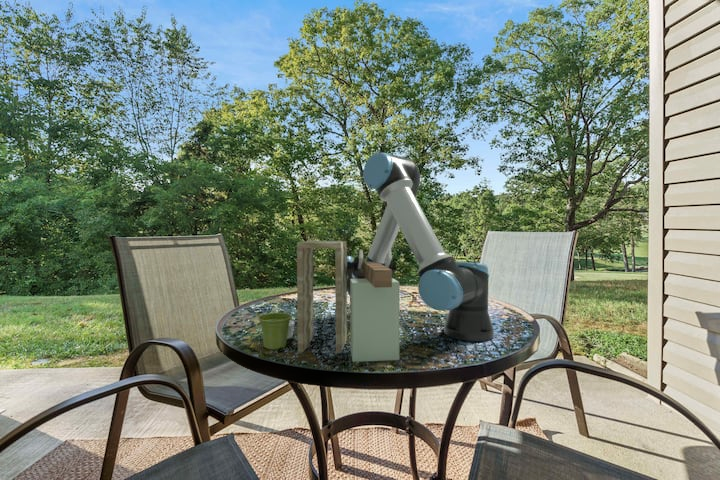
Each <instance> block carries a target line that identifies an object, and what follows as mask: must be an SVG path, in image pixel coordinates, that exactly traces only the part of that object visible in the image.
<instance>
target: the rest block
mask: <svg viewBox="0 0 720 480" xmlns="http://www.w3.org/2000/svg"><path fill="white" fill-rule="evenodd" d="M349 302H350V305H349V309H350V311H349V316H350V317H349V321H350V323H349V327H350V328H349V329H350V330H349V333H350V335H349V336H350V338H349V339H350V341H349V342H350V343H349V344H350V345H349V346H350V347H349V348H350V349H349V350H350V352H349V353H350V356H351V360H352V362H353V363H356V362H361V363H362V362H383V361H385V362H387V361H400V281H398V280H397V279H395V278H393V277H392V287H378V288H375V287H374V286H373V285H372V284H371V283H370V282H369V281H368V280H367V279H350V296H349Z"/></svg>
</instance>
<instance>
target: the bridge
mask: <svg viewBox="0 0 720 480" xmlns="http://www.w3.org/2000/svg"><path fill="white" fill-rule="evenodd" d="M347 243H348V242H347V240H305V241H298V242H296V276H297V277H296V284H297V285H296V286H297V287H296V288H297V294H296V295H297V297H296V299H297V300H296V301H297V304H296V305H297V306H296V307H297V308H296V309H297V313H296V315H297V353H304V352H305V350H306V349H307V347H308V346H309V344H310V343H311V341H312V340H313V338H314V329H315V328H314V249H334V250H335V251H334V253H335V255H334V256H335V257H334V258H335V260H334V261H335V262H334V263H335V265H334V266H335V354H342V353H343V350H344V346H345V344H346V341H347V339H348V292H347V256H348V252H347V251H348V248H347V247H348V245H347Z"/></svg>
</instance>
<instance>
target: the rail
mask: <svg viewBox="0 0 720 480" xmlns="http://www.w3.org/2000/svg"><path fill="white" fill-rule="evenodd" d="M363 261H364V262H363V276H364V277H365V278H366V279H367V280H368V281H369V282H370V283H371V284H372V285H373V286H374V287H375V288H378V287H392V278H393V275H392V270H391V269H389V268H387V267H386V266H384V265H382V264H380V263H378V262H376V261H366V260H363Z"/></svg>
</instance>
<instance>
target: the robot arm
mask: <svg viewBox="0 0 720 480" xmlns="http://www.w3.org/2000/svg"><path fill="white" fill-rule="evenodd" d="M362 174H363V175H362V176H363V177H362V178H363V181H364V184H365V186H367V187H369V188H370V189H373V190H374V189H375V191H376V194H377V195H378V197H379V199H380V200H381V201H382V202H385V203H387V204H386V207H385V210H384V212H383V215H382V217H381V221H380V222H379V224H378V227H377V230H376V233H375V236H374V238H373V240H372V244H371V246H370V248H369V251H368V254H367V256H366V259H365V260H364V251H363V249H359V252H358V256H355V257H352V256H350V255H347V295H349V297H350V279H366V278H365V277H364V276H363V262H364V261H376V262H378V263H380V264H382V265H384V266H386V267H387V268H389V269H391V270H392V276H393V275H394V274H395V273H396V271H397V270H398V269H397V262H396V261H394V259H393V255H392V248H393V245H394V244H395V240H396V238H397V236H398V233H399V231H401V232H402V235H403V236H404V239H405V240H406V242H407V244H408V246H409V249H410V250H411V252H412V255H413V256H414V258H415V261H416V263H417V264H418V266H419V267H418V271H417V272H416V273H417V275H418V277H419V281H418V286H417V289H418V293H419V294H418V295H419V297H420V298H421V300H422V301H423V303H424V304H425V305H426V306H428V307H429V308H430V309H433V310H436V311H440V312H441V311H448V314H447V317H446V320H445V322H444V326H443V327H444V328H443V329H444V331H443V332H444V335H446V336H447V337H449V338H452V339H454V340H459V341H465V342H484V341H485V342H486V341H490V340H492V339H494V337H495V331H494V330H495V329H494V327H493V323H492V319H491V317H490V314H489V277H490V274H489V268H488V265H487V264H485V263H479V262H469V261H456V259H455V258H454V256H453V255H451V254H447V253H446V252H445V251H444V249H443V246H442V244H441V243H440V240H439V239H438V237H437V235H436V234H435V232H434V229H433V227H432V226H431V224H430V222H429V220H428V219H427V217H426V215H425V213H424V211H423V209H422V207H421V206H420V203H419V202H418V201H419V200H417V198H416V197H417V194H418V191H419V189H420V184H421V183H420V182H421V176H420V175H421V173H420V170H419V167H418V166H417V164H416V163H415V162H414V161H413V160H412V159H410V158H407V157H402V156H398V155H395V154H391V153H389V152H374V153H373V154H372V155H371V156H370V157H369V158H368V159H367V160H366V162H365V164H364V168H363V171H362Z"/></svg>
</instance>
